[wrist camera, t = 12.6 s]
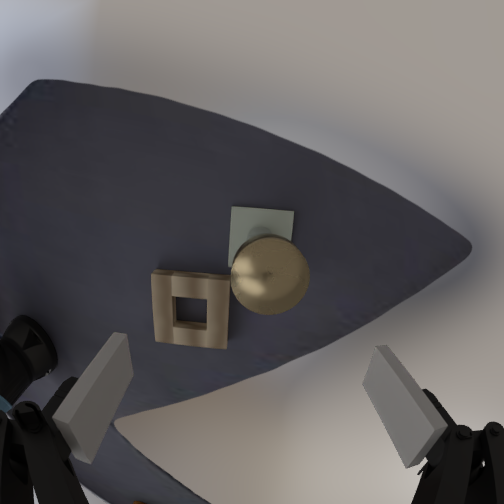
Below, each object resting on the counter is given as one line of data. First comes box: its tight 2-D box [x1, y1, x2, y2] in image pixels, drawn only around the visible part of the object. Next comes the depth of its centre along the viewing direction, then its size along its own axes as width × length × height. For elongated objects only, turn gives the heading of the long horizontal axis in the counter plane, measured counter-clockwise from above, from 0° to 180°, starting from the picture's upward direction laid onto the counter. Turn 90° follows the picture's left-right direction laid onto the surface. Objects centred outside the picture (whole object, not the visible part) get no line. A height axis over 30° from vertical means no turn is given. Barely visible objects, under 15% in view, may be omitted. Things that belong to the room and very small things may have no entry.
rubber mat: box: [228, 206, 294, 267], centre depth 41 cm, size 9×9×1 cm
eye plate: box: [151, 269, 231, 349], centre depth 43 cm, size 12×12×2 cm
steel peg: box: [231, 226, 310, 315], centre depth 33 cm, size 7×7×17 cm
